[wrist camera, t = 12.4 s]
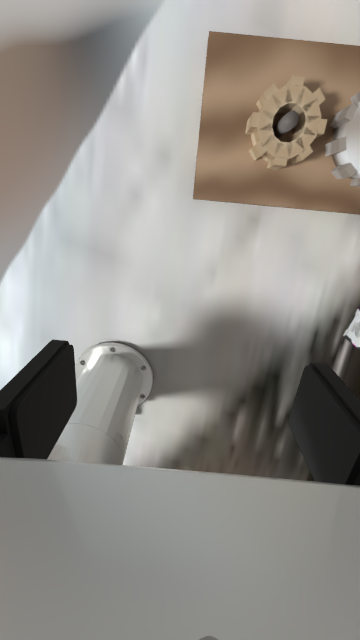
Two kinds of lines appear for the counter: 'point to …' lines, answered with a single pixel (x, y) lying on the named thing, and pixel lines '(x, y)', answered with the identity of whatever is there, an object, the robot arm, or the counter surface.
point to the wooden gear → (305, 130)
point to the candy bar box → (354, 330)
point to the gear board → (279, 124)
